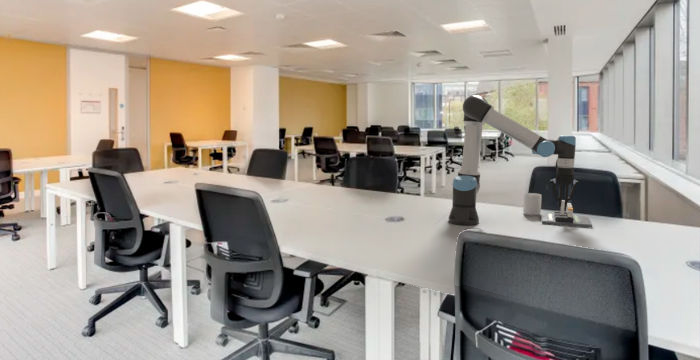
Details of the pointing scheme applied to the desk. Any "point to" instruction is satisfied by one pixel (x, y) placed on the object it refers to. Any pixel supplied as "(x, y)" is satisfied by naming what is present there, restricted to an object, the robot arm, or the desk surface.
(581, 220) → the panel
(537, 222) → the desk surface
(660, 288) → the desk surface
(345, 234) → the desk surface
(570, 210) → the block
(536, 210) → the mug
